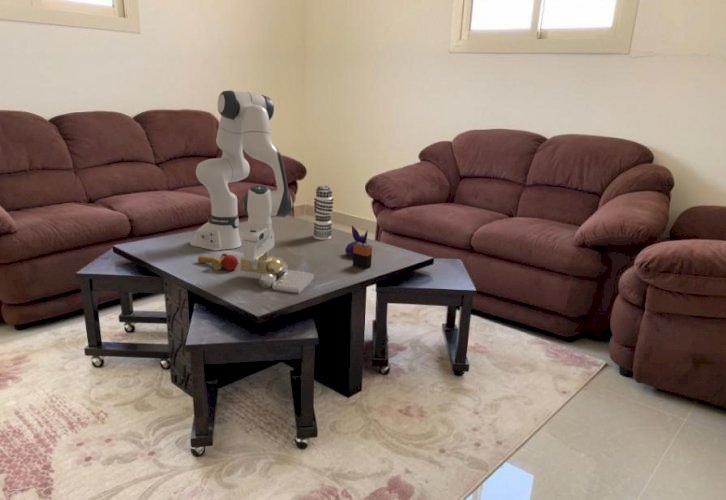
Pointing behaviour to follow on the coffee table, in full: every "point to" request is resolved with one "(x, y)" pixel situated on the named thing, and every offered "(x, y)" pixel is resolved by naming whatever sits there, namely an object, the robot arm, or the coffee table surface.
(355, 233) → the creature
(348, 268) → the coffee table surface
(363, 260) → the battery
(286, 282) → the plate with metal balls
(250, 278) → the coffee table surface
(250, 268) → the gold bar
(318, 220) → the black white tall cylinder
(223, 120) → the robot arm
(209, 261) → the kendama
